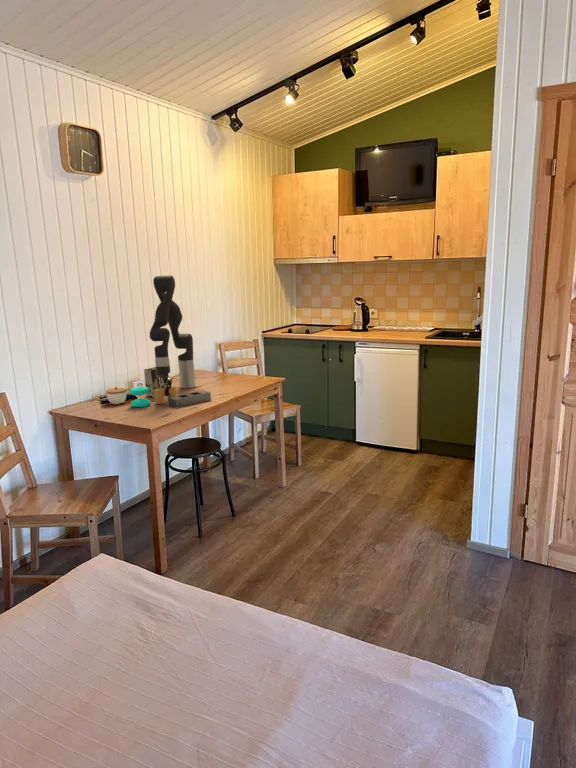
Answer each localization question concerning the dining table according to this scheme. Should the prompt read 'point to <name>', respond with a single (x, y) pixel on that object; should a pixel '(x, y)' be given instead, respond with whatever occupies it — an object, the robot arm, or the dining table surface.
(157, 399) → the long orange brick
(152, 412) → the dining table surface
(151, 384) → the coffee box
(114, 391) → the lidded jar
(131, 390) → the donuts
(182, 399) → the grey slotted block
